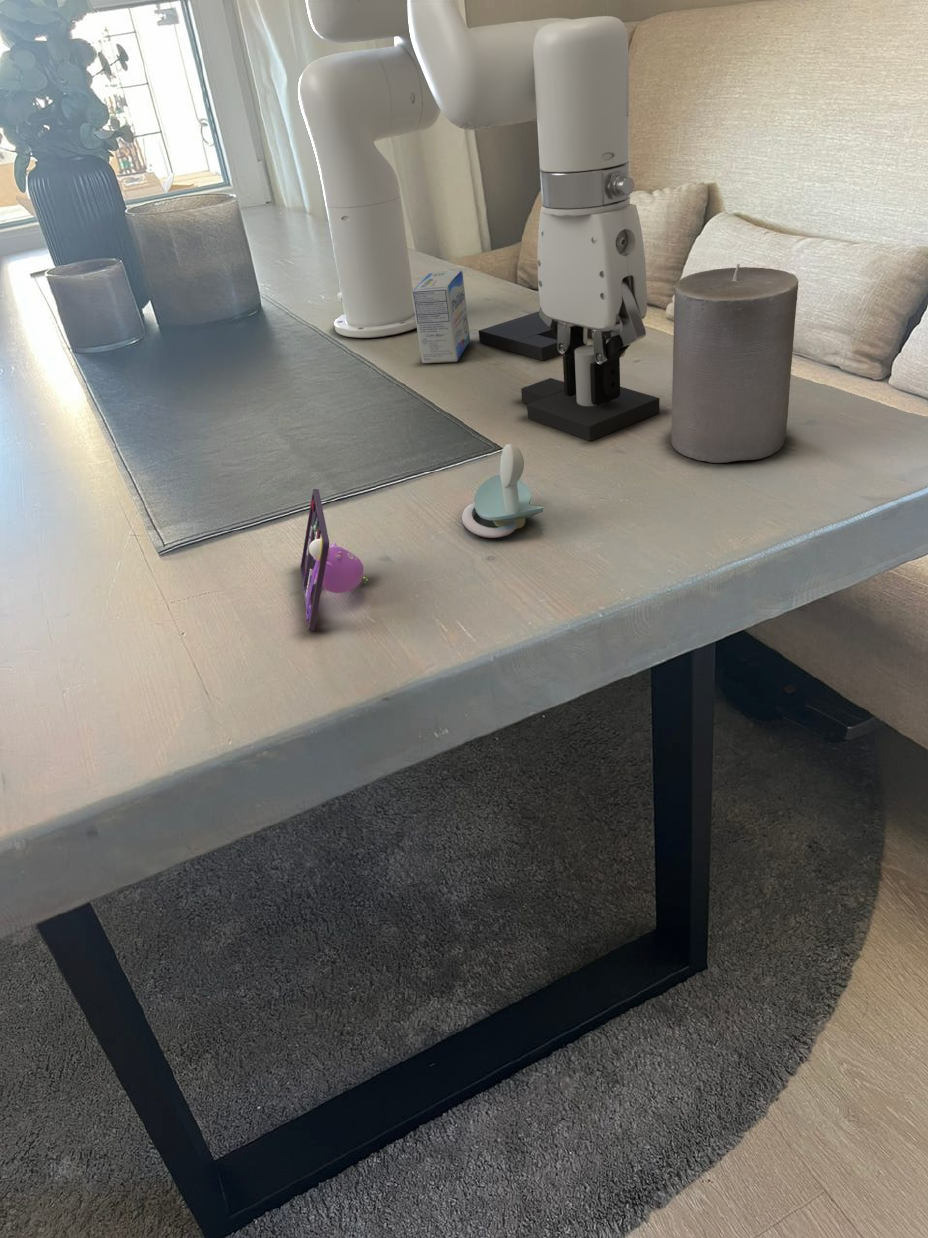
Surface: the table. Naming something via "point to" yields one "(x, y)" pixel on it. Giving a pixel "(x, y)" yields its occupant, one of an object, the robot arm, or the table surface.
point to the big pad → (524, 337)
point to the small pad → (585, 404)
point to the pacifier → (502, 499)
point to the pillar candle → (732, 362)
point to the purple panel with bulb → (325, 563)
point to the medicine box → (441, 317)
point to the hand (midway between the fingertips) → (592, 394)
